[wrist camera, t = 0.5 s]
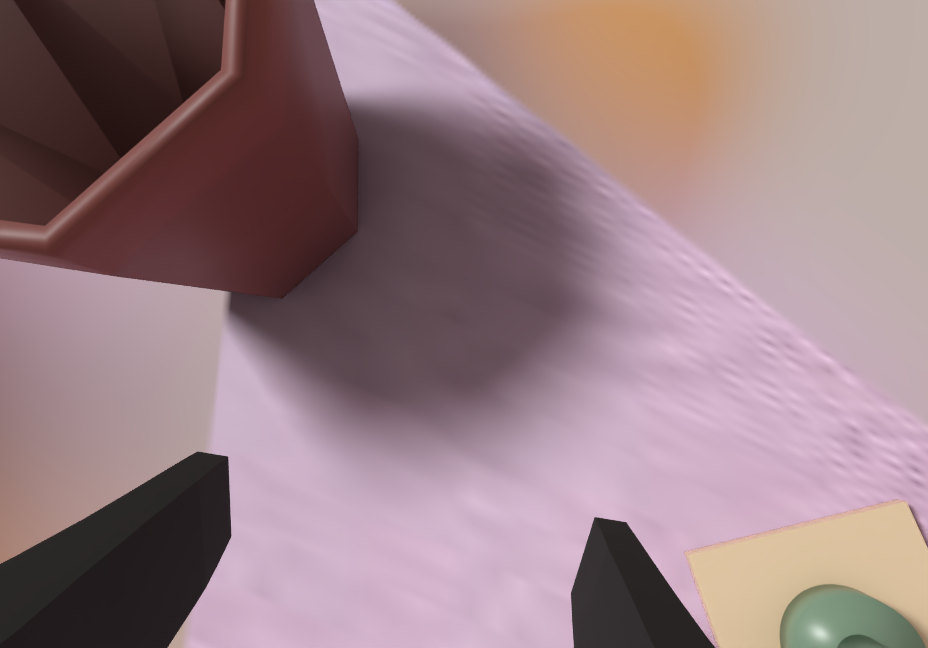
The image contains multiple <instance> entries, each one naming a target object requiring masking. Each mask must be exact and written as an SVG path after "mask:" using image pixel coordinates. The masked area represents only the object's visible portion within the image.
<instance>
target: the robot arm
mask: <svg viewBox="0 0 928 648" xmlns="http://www.w3.org/2000/svg"><path fill="white" fill-rule="evenodd" d="M230 538H231V517H230V491H229V466H228V457H227V456H221V455H215V454H209V453H203V452H196V453H194V454H193V455H191V456H189V457H187V458H185V459H184V460H182V461H180V462H179V463H177V464H175V465H174V466H172V467H170V468H169V469H167V470H165V471H164V472H162V473H160V474H159V475H157V476H155V477H154V478H152V479H151V480H149V481H147V482H145V483H144V484H142V485H140V486H139V487H137V488H135V489H134V490H132V491H130V492H129V493H127V494H125V495H124V496H122V497H120V498H119V499H117V500H115V501H114V502H112V503H110V504H108V505H107V506H105V507H103V508H102V509H100V510H98V511H97V512H95V513H93V514H91V515H90V516H88V517H86V518H85V519H83V520H81V521H79V522H77V523H76V524H74V525H72V526H70V527H68V528H66V529H65V530H63V531H61V532H59V533H57V534H56V535H54V536H52V537H50V538H48V539H46V540H44V541H42V542H41V543H39V544H37V545H35V546H33V547H32V548H30V549H28V550H26V551H24V552H22V553H21V554H19V555H17V556H15V557H13V558H11V559H9V560H7V561H5V562H3V563H1V564H0V648H167V647H168V646H169V644H170V643H171V641H172V640H173V638H174V637H175V635H176V633H177V632H178V631H179V629H180V627H181V626H182V624H183V623H184V621H185V620H186V618H187V617H188V615H189V613H190V612H191V610H192V609H193V607H194V606H195V604H196V603H197V601H198V599H199V598H200V596H201V595H202V593H203V591H204V590H205V588H206V586H207V584H208V583H209V581H210V579H211V577H212V575H213V573H214V571H215V569H216V567H217V565H218V563H219V561H220V559H221V557H222V555H223V553H224V551H225V549H226V546H227V544H228V542H229V540H230ZM571 602H572V623H573V638H574V648H715V647H714V646H713V644H712V643H711V642H710V641H709V639H708V638H707V637H706V635H705V634H704V633H703V631H702V630H701V628H700V627H699V626H698V624H697V623H696V622H695V620H694V619H693V618H692V616H691V615H690V613H689V612H688V611H687V609H686V608H685V607H684V605H683V604H682V603H681V601H680V600H679V598H678V597H677V595H676V594H675V593H674V591H673V590H672V588H671V587H670V586H669V584H668V583H667V581H666V580H665V578H664V577H663V575H662V574H661V572H660V571H659V570H658V568H657V567H656V565H655V564H654V562H653V561H652V559H651V558H650V556H649V555H648V553H647V552H646V550H645V549H644V548H643V546H642V545H641V543H640V542H639V540H638V539H637V537H636V536H635V534H634V533H633V532H632V530H631V529H630V527H629V526H628V524H627V523H626V522H621V521H615V520H609V519H603V518H597V517H595V518H594V521H593V524H592V528H591V531H590V534H589V537H588V540H587V544H586V547H585V550H584V553H583V556H582V560H581V563H580V566H579V569H578V573H577V576H576V579H575V582H574V585H573V589H572V592H571Z"/></svg>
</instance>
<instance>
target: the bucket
mask: <svg viewBox="0 0 928 648" xmlns="http://www.w3.org/2000/svg"><path fill="white" fill-rule="evenodd" d="M356 232H358V138H357V135H356V132H355V128H354V125H353V122H352V119H351V116H350V113H349V109H348V106H347V103H346V100H345V97H344V94H343V91H342V87H341V84H340V81H339V78H338V75H337V72H336V69H335V65H334V62H333V59H332V56H331V53H330V50H329V46H328V43H327V40H326V37H325V34H324V31H323V28H322V24H321V21H320V18H319V15H318V12H317V9H316V6H315V2H314V0H0V258H2V259H8V260H14V261H21V262H27V263H34V264H40V265H46V266H53V267H59V268H66V269H72V270H78V271H85V272H91V273H98V274H104V275H110V276H117V277H125V278H132V279H140V280H148V281H155V282H162V283H170V284H177V285H184V286H192V287H199V288H207V289H214V290H222V291H229V292H237V293H244V294H252V295H259V296H266V297H274V298H281V299H282V298H283V297H284V296H286V295H287V294H288V293H289V292H290V291H291V290H292V289H293V288H295V287H296V286H297V285H298V284H299V283H300V282H301V281H302V280H304V279H305V278H306V277H307V276H308V275H309V274H310V273H311V272H313V271H314V270H315V269H316V268H317V267H318V266H319V265H320V264H322V263H323V262H324V261H325V260H326V259H327V258H328V257H329V256H331V255H332V254H333V253H334V252H335V251H336V250H337V249H338V248H340V247H341V246H342V245H343V244H344V243H345V242H346V241H347V240H349V239H350V238H351V237H352V236H353V235H354V234H355V233H356Z"/></svg>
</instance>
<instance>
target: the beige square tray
mask: <svg viewBox="0 0 928 648" xmlns="http://www.w3.org/2000/svg"><path fill="white" fill-rule="evenodd" d="M685 555H686V558H687V561H688V564H689V567H690V569H691V572H692V575H693V578H694V581H695V584H696V587H697V590H698V592H699V595H700V598H701V601H702V604H703V607H704V610H705V612H706V615H707V618H708V621H709V624H710V627H711V630H712V633H713V635H714V638H715V641H716V644H717V647H718V648H928V548H927V545H926V543H925V541H924V539H923V537H922V534H921V532H920V530H919V528H918V526H917V524H916V521H915V519H914V517H913V515H912V513H911V510H910V508H909V506H908V504H907V502H906V501H902V500H893V501H889V502H885V503H881V504H877V505H873V506H869V507H865V508H861V509H857V510H853V511H849V512H845V513H841V514H837V515H833V516H828V517H824V518H820V519H816V520H812V521H808V522H804V523H800V524H796V525H792V526H788V527H784V528H780V529H776V530H772V531H768V532H764V533H760V534H755V535H751V536H747V537H743V538H739V539H735V540H731V541H727V542H723V543H719V544H715V545H711V546H707V547H703V548H699V549H695V550H691V551H687V552H685Z"/></svg>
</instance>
